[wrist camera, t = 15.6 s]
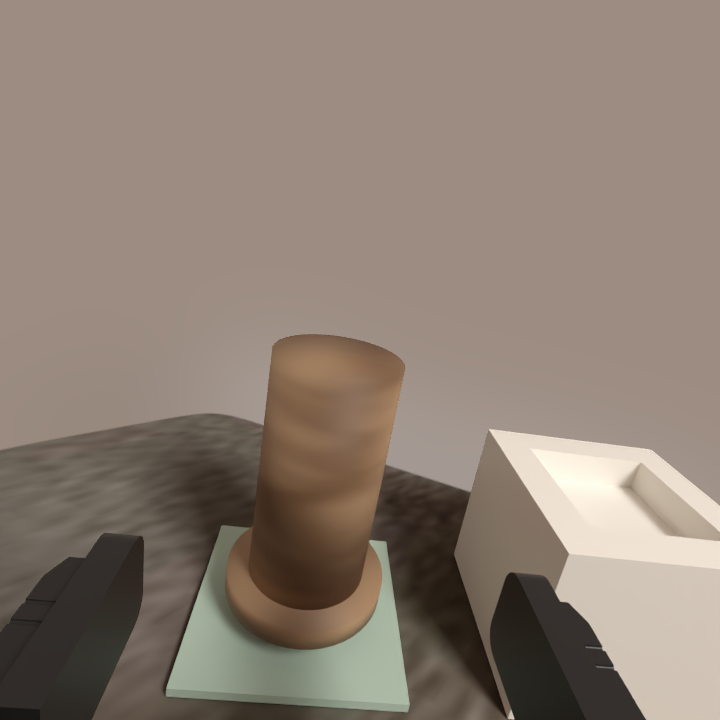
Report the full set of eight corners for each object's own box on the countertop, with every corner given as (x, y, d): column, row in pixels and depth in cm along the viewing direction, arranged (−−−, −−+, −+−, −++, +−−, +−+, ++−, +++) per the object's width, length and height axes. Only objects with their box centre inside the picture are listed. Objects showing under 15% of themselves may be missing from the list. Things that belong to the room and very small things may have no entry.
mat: (165, 696, 17) (165, 688, 17) (221, 531, 26) (221, 524, 26) (407, 712, 18) (409, 704, 18) (384, 547, 27) (385, 541, 27)
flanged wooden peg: (206, 667, 18) (229, 377, 14) (238, 542, 25) (260, 319, 21) (381, 677, 19) (448, 405, 15) (367, 554, 25) (412, 340, 22)
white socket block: (507, 718, 19) (569, 553, 16) (453, 554, 27) (488, 429, 25) (718, 732, 20) (808, 578, 17) (602, 569, 28) (651, 449, 26)
